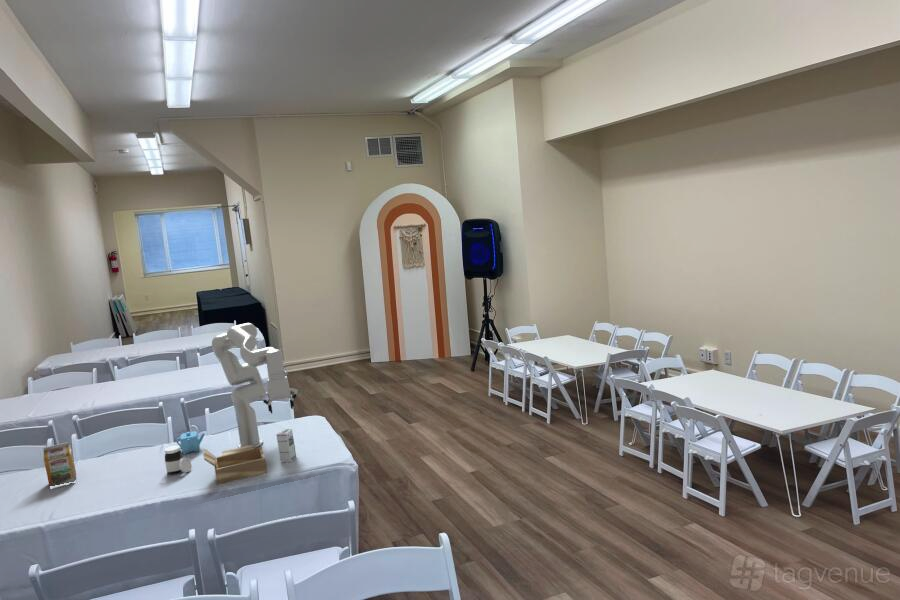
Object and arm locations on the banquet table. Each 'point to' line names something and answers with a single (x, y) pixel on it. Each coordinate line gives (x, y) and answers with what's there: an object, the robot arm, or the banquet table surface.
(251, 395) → the robot arm
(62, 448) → the yellow food package
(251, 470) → the wooden square tray
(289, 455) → the syrup box
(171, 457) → the spread jar
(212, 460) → the flap
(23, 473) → the banquet table surface
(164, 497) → the banquet table surface
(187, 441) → the teapot
